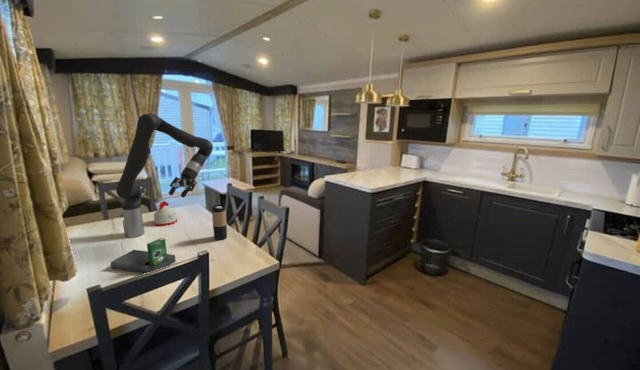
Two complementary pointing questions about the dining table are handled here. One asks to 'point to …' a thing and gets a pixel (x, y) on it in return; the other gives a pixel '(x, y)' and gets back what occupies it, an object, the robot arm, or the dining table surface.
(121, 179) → the robot arm
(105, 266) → the dining table surface
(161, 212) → the kitchen timer
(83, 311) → the dining table surface
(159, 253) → the coffee box
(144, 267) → the dark grey flat slab
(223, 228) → the travel mug
